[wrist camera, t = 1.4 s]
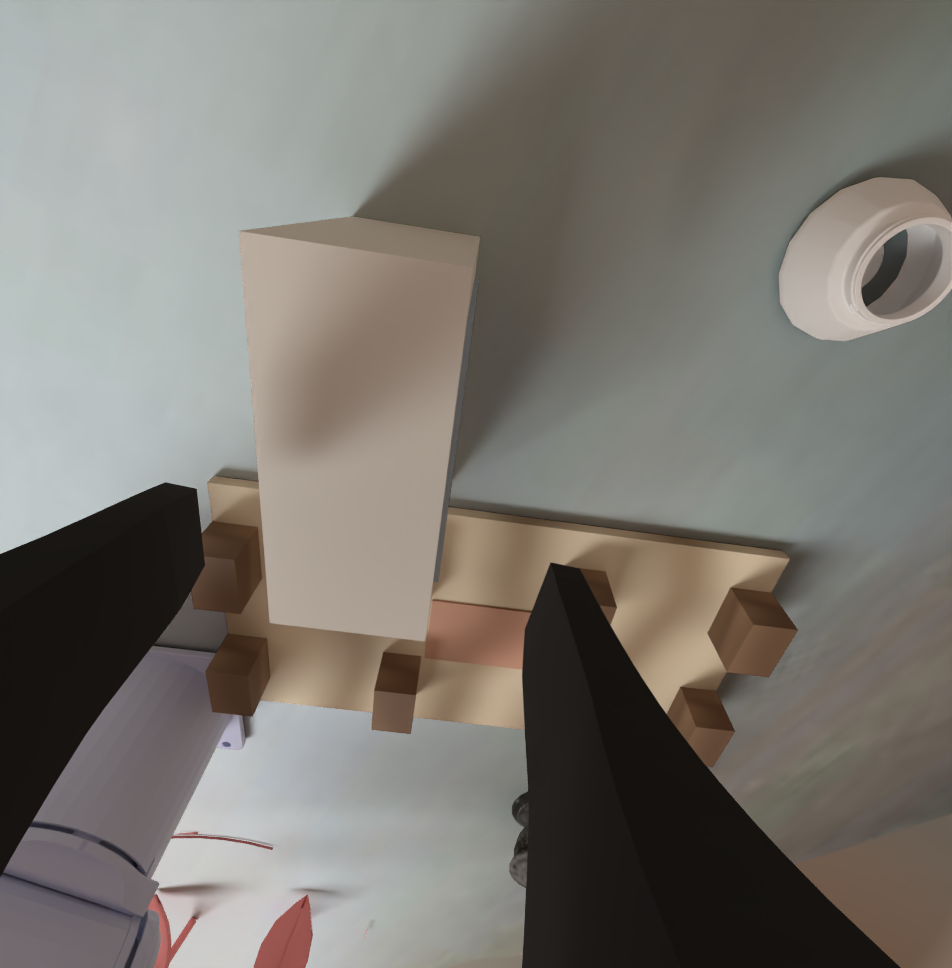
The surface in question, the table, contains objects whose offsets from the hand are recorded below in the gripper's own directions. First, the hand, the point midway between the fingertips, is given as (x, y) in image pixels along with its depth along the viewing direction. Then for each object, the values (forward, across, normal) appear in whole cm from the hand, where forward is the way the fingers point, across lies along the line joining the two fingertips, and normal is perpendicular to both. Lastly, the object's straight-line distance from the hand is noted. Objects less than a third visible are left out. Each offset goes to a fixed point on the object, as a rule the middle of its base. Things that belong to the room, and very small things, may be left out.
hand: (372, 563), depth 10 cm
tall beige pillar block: (+11, +1, 0) cm, 11 cm away
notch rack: (+10, -4, +13) cm, 17 cm away
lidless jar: (+12, -13, -7) cm, 19 cm away
